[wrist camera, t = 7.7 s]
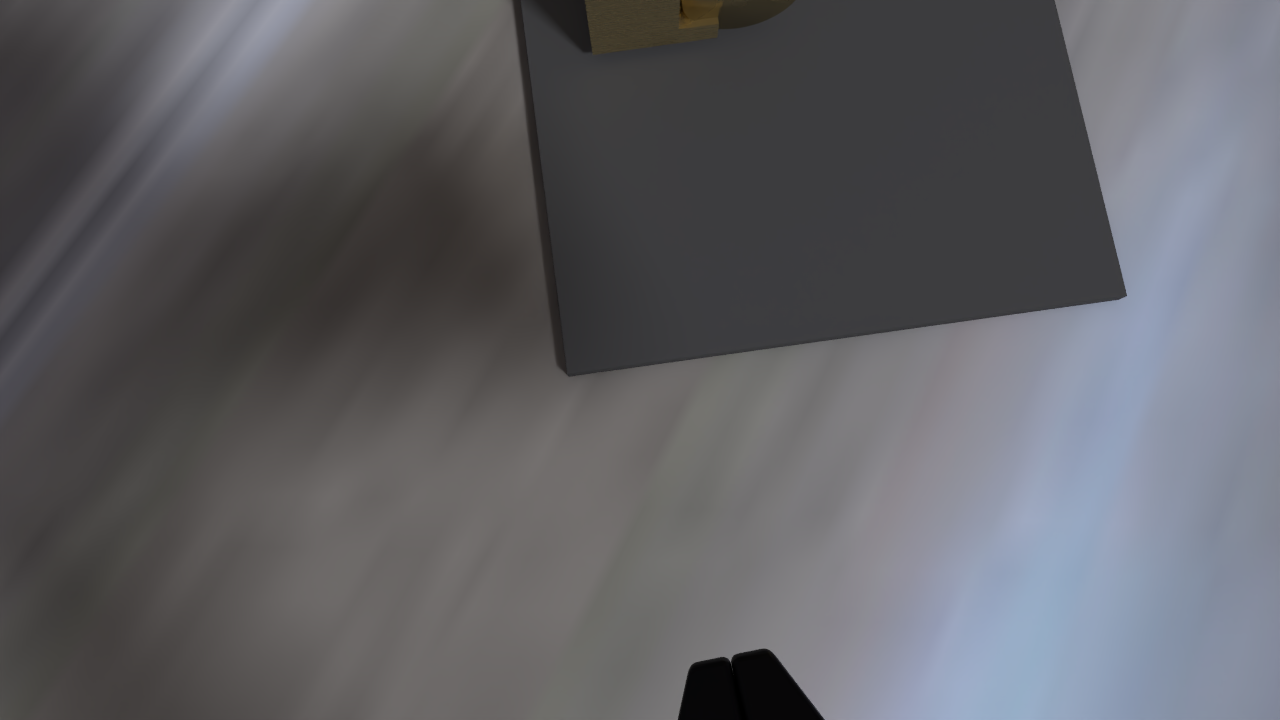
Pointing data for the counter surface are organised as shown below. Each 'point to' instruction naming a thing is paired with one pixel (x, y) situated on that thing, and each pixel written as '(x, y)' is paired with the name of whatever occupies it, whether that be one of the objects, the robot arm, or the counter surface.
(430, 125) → the counter surface
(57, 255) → the counter surface
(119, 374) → the counter surface
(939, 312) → the rubber mat
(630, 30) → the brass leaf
